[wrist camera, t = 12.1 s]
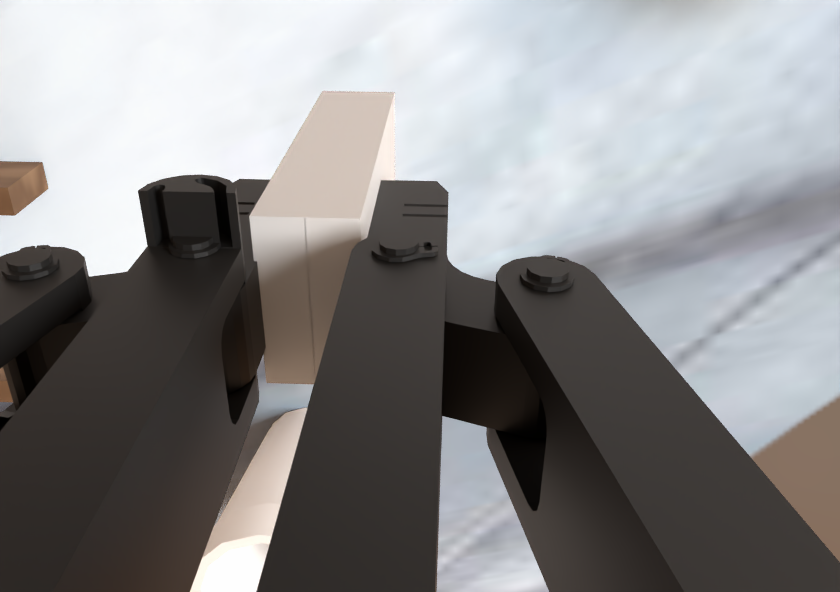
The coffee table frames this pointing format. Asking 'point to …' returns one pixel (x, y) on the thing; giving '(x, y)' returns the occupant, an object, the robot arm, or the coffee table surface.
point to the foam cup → (251, 514)
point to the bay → (18, 209)
